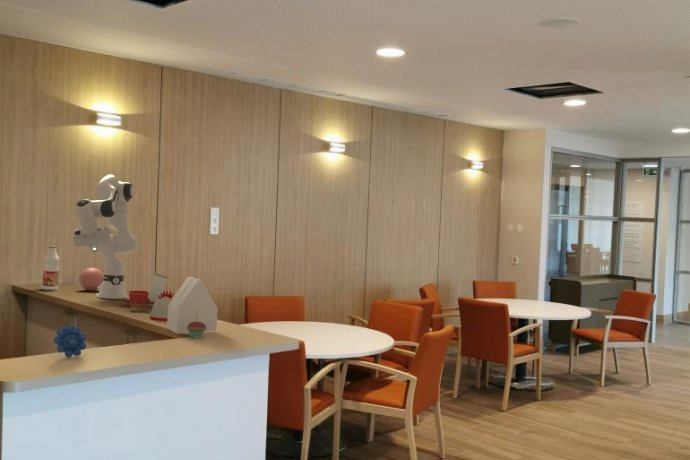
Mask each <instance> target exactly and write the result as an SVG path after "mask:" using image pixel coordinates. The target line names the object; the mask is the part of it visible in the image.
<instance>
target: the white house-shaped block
mask: <svg viewBox="0 0 690 460" xmlns="http://www.w3.org/2000/svg"><path fill="white" fill-rule="evenodd" d="M218 310H219V309H218V306H217V305H216V303H215V301H214V300H213V298H212V296H211V294H210V292H209V290H208V289H207V287H206V285H205V283H204V281H203V280H202V279H199V278H196V277H194V276H187V277H186V279H185V280H184V282H183V283H182V285H181V286H180V287H179V289H178V290H177V292H175V293H174V295H173V296H172V298H171V302H170V303H169V306H168V321H166V329H168V330H170V331H172V332H173V333H175V334H177V335H178V334H180V335H181V334H190V332H189V330H188V329H187V327H188V325H189V323H191V322H196V312H198V322H201V323H204V324H205V325H206V330H204V332H210V331H215V332H216V333H217V324H218V323H217V322H218V312H219V311H218Z"/></svg>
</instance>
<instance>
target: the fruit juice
mask: <svg viewBox="0 0 690 460" xmlns="http://www.w3.org/2000/svg"><path fill="white" fill-rule="evenodd" d="M57 249H58V247H57V246H56V245H49V246H48V251H47V254H46V255H45V257H44V260H43V262H44V266H43V268H42V269H43V270H42V271H43V272H42V284H41V285H42V286H41V288H42V290H45V291H56V290H58V289H59V277H60V266H59V264H60V261H61V260H60V257H59V255H58V253H57Z"/></svg>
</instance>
